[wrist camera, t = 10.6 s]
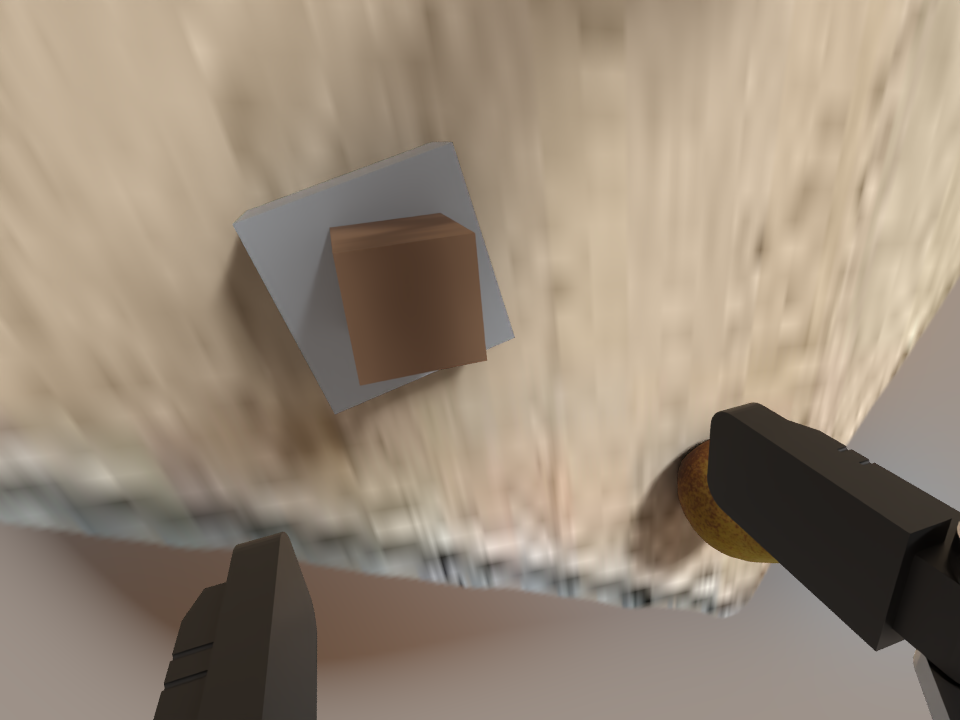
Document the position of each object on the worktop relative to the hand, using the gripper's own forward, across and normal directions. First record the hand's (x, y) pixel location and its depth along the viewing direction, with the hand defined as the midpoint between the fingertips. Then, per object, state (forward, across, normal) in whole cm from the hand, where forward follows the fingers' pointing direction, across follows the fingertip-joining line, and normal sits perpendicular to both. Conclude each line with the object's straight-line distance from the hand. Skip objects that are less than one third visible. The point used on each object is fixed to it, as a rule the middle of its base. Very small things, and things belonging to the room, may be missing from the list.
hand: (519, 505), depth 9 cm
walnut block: (+17, 0, 0) cm, 17 cm away
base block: (+22, 0, 0) cm, 22 cm away
